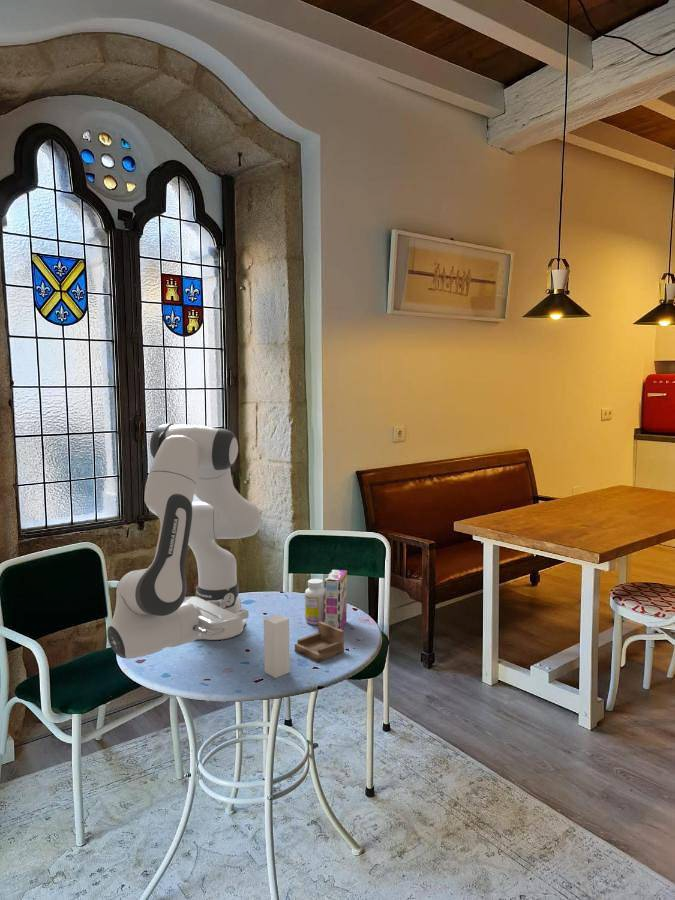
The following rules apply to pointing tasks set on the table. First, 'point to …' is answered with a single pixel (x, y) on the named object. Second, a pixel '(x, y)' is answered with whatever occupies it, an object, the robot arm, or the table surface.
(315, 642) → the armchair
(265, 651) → the cream block
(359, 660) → the table surface
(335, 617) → the candy bar box
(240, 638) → the table surface
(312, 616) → the supplement bottle
